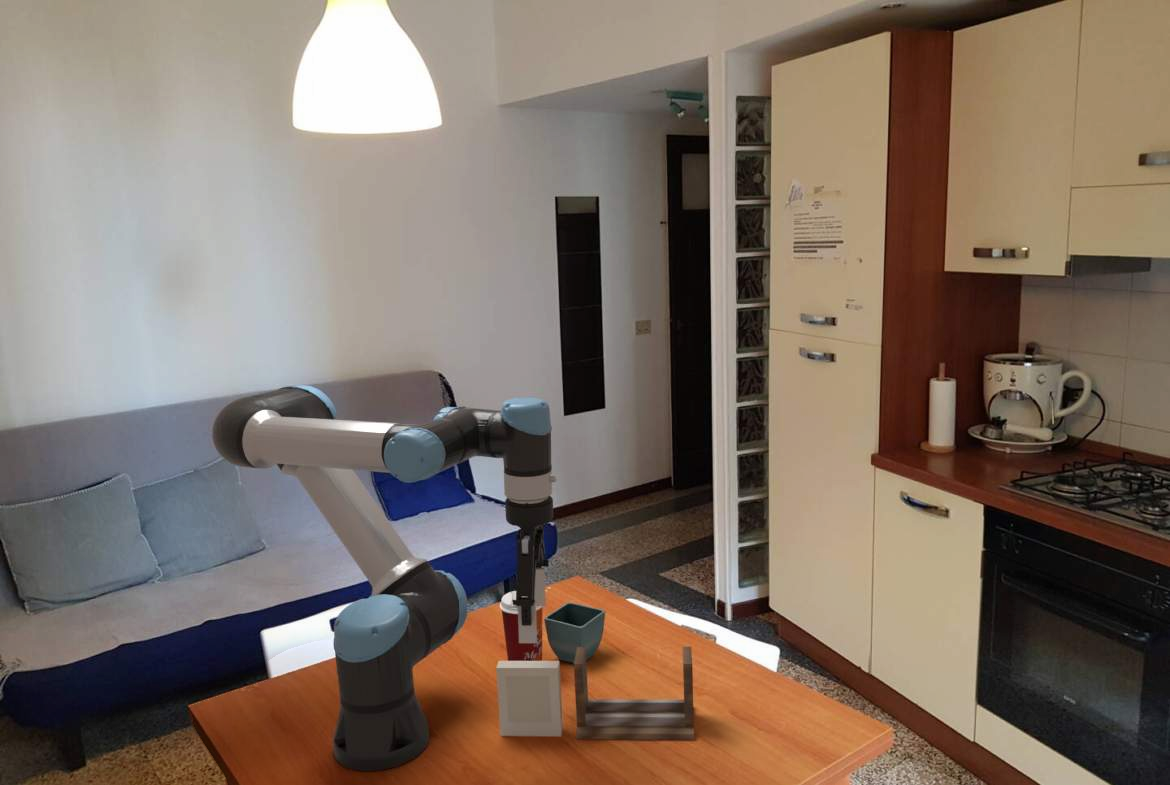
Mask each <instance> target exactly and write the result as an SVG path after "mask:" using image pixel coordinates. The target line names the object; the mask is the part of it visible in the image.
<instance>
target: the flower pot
mask: <svg viewBox="0 0 1170 785" xmlns="http://www.w3.org/2000/svg"><path fill="white" fill-rule="evenodd" d="M605 618H606V610H605V609H601V608H596V607H593V606H588V605H584V604H580V603H576V602H571V601H570V602H569V601H568V602H566V603H564V604H563V605H561V606H560V607H558V608H557V609H556V610H554V611H552V612H551V613H549V614H548V615H546V616H545V617H544V618H543V620H544V626H545V633H546V638H547V641H548V644H549V647H550V648H551V650H552V652H553V654H554V655H555V656H556V657H557V658H558V659H559V661H560V660H561V661H564V662H568V663H572V664H574V661H575V656H576V651H577V647H586V661H587V660H589V659H590V658H591V657H594V655H595V653H596V652H597V651H598V648H599V646H600V644H601V641H602V638H603V635H604V628H605Z"/></svg>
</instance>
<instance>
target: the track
mask: <svg viewBox="0 0 1170 785" xmlns="http://www.w3.org/2000/svg"><path fill="white" fill-rule="evenodd" d="M587 667H588V666H587V660H586V647H577V651H576V656H575V661H574V663H573V675H574V694H575V696H574V697H575V710H576V711H575V712H576V713H575V714H576V731H575V739H576V740H646V741H647V740H658V741H659V740H664V741H665V740H667V741H670V740H671V741H674V740H675V741H677V740H680V741H683V740H684V741H695V719H694V713H695V712H694V682H693V681H694V678H693V654H692V646H682V670H683V672H682V673H683V699H652V698H650V699H649V698H648V699H645V698H644V699H639V698H638V699H637V698H636V699H635V698H634V699H625V698H624V699H623V698H621V699H620V698H618V699H617V698H616V699H613V698H612V699H611V698H610V699H605V698H604V699H603V698H601V699H599V698H597V699H596V698H589V692H588V691H589V690H588V689H589V686H588V672H587V670H588V669H587Z"/></svg>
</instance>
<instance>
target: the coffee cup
mask: <svg viewBox="0 0 1170 785" xmlns="http://www.w3.org/2000/svg"><path fill="white" fill-rule="evenodd" d="M513 600H516V590H513V591H509V592H507V593H505V594H504V595H503V596H502V597H501V602H500V603H499V609H500V610H501V615H502V622H503V631H504V639H505V646H506V647H505V648H506V655H507V661H543V607H544V606H536V624H537V643H519V627H518V606H516V605H513Z"/></svg>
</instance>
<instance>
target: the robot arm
mask: <svg viewBox="0 0 1170 785" xmlns="http://www.w3.org/2000/svg"><path fill="white" fill-rule="evenodd" d="M550 410H551V409H550V405H549V404H548V402H547V401H546V400H544V399H542V398H537V397H514V398H509V399H506V400H505V401H504V402H502V405H501V410H495V409H483V408H473V407H466V406H461V405H460V406H454V407H453V406H447V407H443V408H441V409H440V410H439V411H438V414H437V415H435V416H434V418H433V420H432V421H429V422H425V423H420V424H418V423H417V424H416V423H399V422H381V421H367V420H366V421H363V420H348V419H347V420H346V419H345V420H344V419H336V418H337V416H338V412H337V410H336V406H335V405H334V403H333V401H332V400H331V399H330V398H329V397H328V396H327V395H326V394H325V393H324V392H323V391H322V390H321V389H318V388H316V387H313V386H310V385H304V384H299V385H287V386H283V387H280V388H278V389H274V390H272V391H271V390H270V391H267V392H262V393H259V394H255V395H249V396H246V397H241V398H238V399H235V400H234V401H232V402H230V403H228V404H227V405H225V406H224V407H223V408H222V409H221V410H220V411H219V413H218V414H217V416H216V418H215V419H214V422H213V426H212V431H211V432H212V442H213V445H214V447H215V450H216V452H218V455H219V456H221V457H222V458H223V459H224V460H225V461H226V462H228V463H230V464H232V465H234V466H237V467H242V468H248V469H249V468H252V469H254V468H255V469H261V470H262V469H263V470H265V469H270V468H272V467H275V466H277V467H278V469H279V470H280V471H281V473H282V474H283V475H286V476H287V475H288V476H293V477H296V479H297V480H298V481H299V483H300V485H302V487H303V489H304V490H305V491H306V493H307V494H308V496H309V497H310V499H311V500H312V501H313V503H314V504H315V506H316V508H317V510H319V512H320V513H321V515H322V516H323V517H324V519H325V520H326V522H327V523H328V525H329V526H330V528H331V530H333V532H334V533H335V535H336V536H337V538H338V539H339V541H340V542H341V543H342V545H343V546H344V548H345V549H346V551H348V554H349V556H351V558H352V559H353V561H354V562H355V563H356V565H357V566H358V568H359V569H360V571H361V572H362V573H363V575H364V577H365V578H366V580H367V581H368V582H369V583H370V585H371V588H372V590H371V595H370V596H369V597H367V598H360V599H358V600H356V601H354V602H352V603H350V604H348V605H347V606H346V607H345V608H343V609H342V610H341V612H340V613H339V614H338V615H337V617H336V619H335V621H334V624H333V650H334V653H335V663H336V664H335V665H336V674H337V681H338V692H339V699H340V701H339V702H340V709H339V713H338V718H337V721H336V725H335V730H334V733H333V736H332V737H333V740H332V743H333V746H332V747H333V754H334V758H335V759H336V762H338V763H339V764H340V765H342V766H343V767H345V768H348V769H351V770H354V771H361V772H362V771H363V772H374V771H383V770H387V769H392V768H395V767H398V766H400V765H401V766H402V765H404V764H405V763H408V762H410V761H411V760H413V759H415V758H417V757H418V756H419V755H420V754H422V753H423V751H424V750H425V749H426V747H427V746H428V743H429V740H430V732H429V731H430V730H429V724H428V720H427V717H426V715H425V713H424V711H423V709H422V707H421V704H420V702H419V700H418V698H417V696H416V693H415V685H414V684H415V683H414V672H413V668H414V666H417V664H419V663H420V662H421V661H422V660H424V659H425V658H427V657H428V656H429V655H430V654H432V653H433V652H435V650H437V649H438V648H440V647H441V646H443V645H445V644H447V643H448V642H449V641H451V640H452V639H453V637H454V636H455V635H456V634H457V633H458V632H459V631H461V629H462V628H463V626H464V624H465V622H466V620H467V617H468V607H469V604H468V599H467V594H466V591H465V589H464V587H463V585H462V584H461V582H460V580H459V579H458V578H456V576H454V575H453V574H452V573H451V572H446V571H445V570H435V569H434V568H433V566H432V565H431V563H430V562H429V560H428V559H427V558H422V557H421V558H420V557H415V556H414V555H413V553H412V552H411V551H410V549H409V548H408V546H407V545H406V543H405V542H404V540H403V539H402V538H401V536H400V535H399V533H398V532H397V530H396V529H395V528H394V526H393V525H392V523H391V522H390V521H389V520H388V518H387V516H386V515H385V514H384V512H383V510H382V509H381V508H380V506H379V505H378V504H377V502H376V500H375V499H374V498H373V497H372V495H371V493H370V492H369V491H368V489H367V488H366V487H365V485H364V484H363V482H362V481H361V480H360V477H358V475H357V474H356V472H355V471H365V472H367V471H368V472H377V473H389V474H391V475H392V477H394V478H396V479H397V480H399V481H401V482H402V483H408V484H409V483H410V484H411V483H416V482H420V481H425V480H428V479H431V478H432V477H434V476H436V475H437V474H438V473H441V472H443V471H445V470H447V469H449V468H452V467H454V466H457V465H459V464H460V463H463V462H465V461H468V460H470V459H471V458H474V457H484V458H496V459H503V488H504V490H503V491H504V496H505V497H506V499H505V500H504V503H505V504H504V505H505V520H506V522H507V523H508V524H509V525H511V526H514V527H518V528H519V529H518V534H516V540H515V541H516V543H515V544H516V587H515V589H516V590H515V591H516V600H513V605H516V606H518V627H519V643H537V624H536V606H543V607H546V604H547V603H546V599H547V598H546V573H545V572H546V570H545V569H546V568H545V567H549V564H550V560H549V559H546V556H547V554H546V549H545V540H544V533H545V531H544V528H543V527H544V526H545V525H547V524H549V523H550V522H552V521H553V519H554V499H553V497H552V494H553V483H556V481H557V477H556V476H555V475H552V473H553V472H552V471H553V470H552V469H553V467H552V430H553V426H552V423H551V413H550Z"/></svg>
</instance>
